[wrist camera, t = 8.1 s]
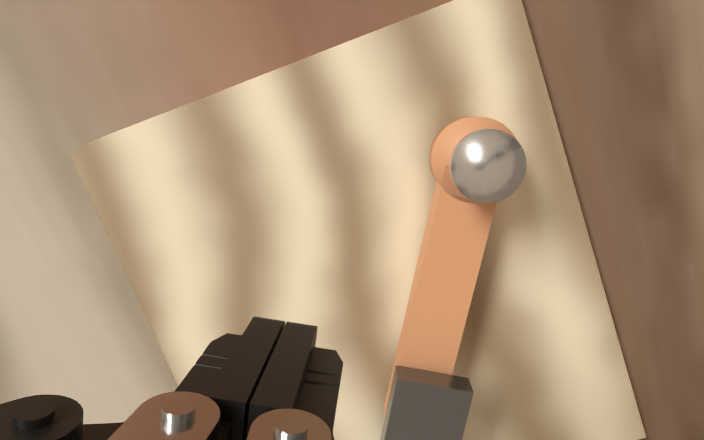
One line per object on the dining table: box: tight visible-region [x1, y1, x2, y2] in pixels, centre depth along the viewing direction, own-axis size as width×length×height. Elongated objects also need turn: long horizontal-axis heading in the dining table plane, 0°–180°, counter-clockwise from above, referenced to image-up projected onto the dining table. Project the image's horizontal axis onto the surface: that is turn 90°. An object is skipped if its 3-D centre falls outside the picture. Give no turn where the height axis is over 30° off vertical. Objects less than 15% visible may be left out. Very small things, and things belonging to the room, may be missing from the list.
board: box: [68, 0, 646, 440], centre depth 31 cm, size 26×28×1 cm
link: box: [384, 116, 516, 414], centre depth 29 cm, size 18×4×2 cm, turn 169°
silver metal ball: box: [449, 129, 526, 203], centre depth 25 cm, size 3×3×3 cm
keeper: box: [380, 365, 474, 440], centre depth 30 cm, size 8×4×4 cm, turn 170°
